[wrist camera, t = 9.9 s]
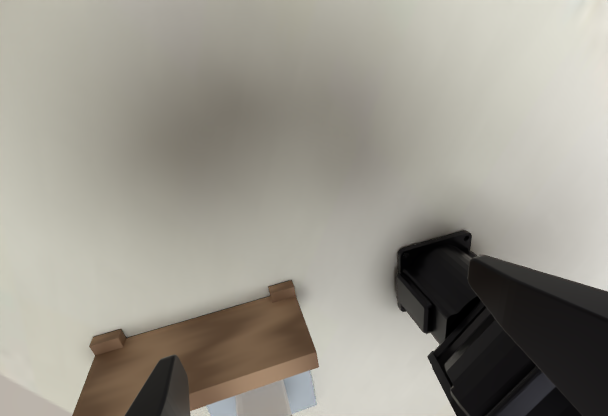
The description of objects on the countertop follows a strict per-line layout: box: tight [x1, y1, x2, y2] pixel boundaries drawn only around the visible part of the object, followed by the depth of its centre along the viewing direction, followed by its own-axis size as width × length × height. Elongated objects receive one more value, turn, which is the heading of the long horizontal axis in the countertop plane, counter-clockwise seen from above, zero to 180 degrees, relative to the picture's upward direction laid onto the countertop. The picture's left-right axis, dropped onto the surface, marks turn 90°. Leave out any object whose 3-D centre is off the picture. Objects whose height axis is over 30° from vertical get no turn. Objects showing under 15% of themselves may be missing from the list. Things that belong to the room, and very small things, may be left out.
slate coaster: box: [206, 370, 317, 416], centre depth 28 cm, size 9×9×1 cm
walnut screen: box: [72, 280, 319, 416], centre depth 21 cm, size 14×3×6 cm, turn 98°
